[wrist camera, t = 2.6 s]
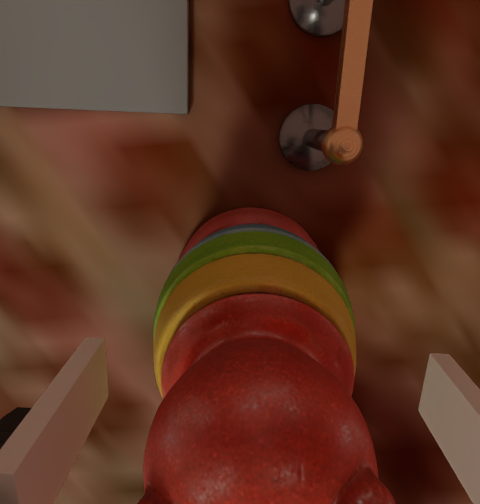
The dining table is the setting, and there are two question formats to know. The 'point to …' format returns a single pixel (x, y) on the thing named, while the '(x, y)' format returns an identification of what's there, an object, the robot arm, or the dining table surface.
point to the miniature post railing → (347, 87)
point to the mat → (95, 55)
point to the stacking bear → (257, 374)
